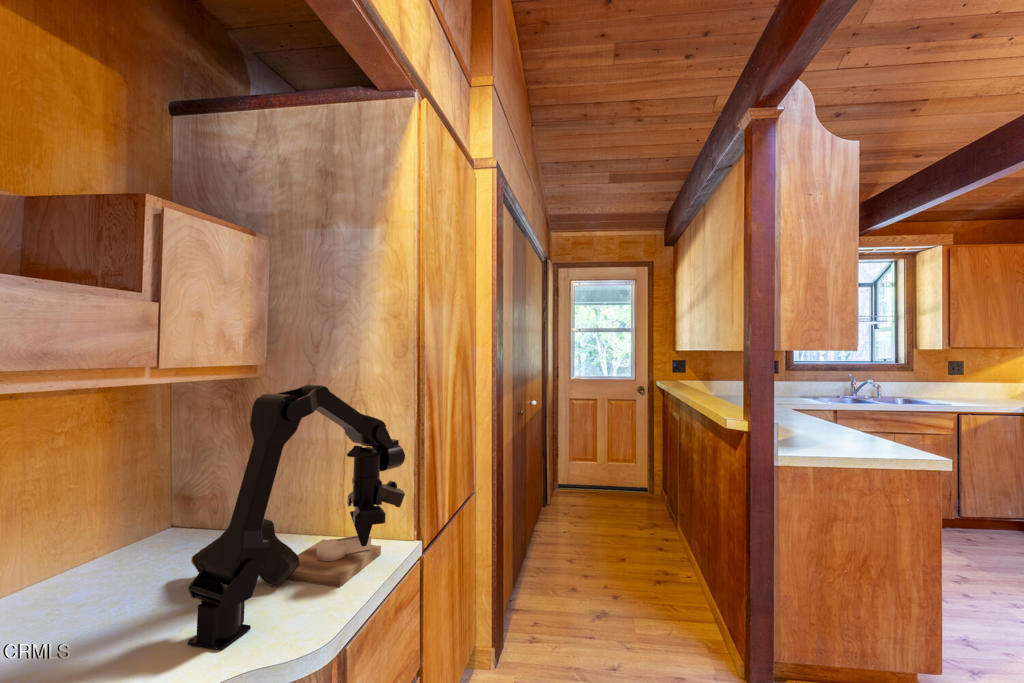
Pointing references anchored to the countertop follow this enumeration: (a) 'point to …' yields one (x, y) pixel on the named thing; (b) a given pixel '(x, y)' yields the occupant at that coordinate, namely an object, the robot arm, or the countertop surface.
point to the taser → (277, 561)
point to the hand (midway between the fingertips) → (364, 545)
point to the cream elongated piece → (340, 548)
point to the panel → (332, 566)
